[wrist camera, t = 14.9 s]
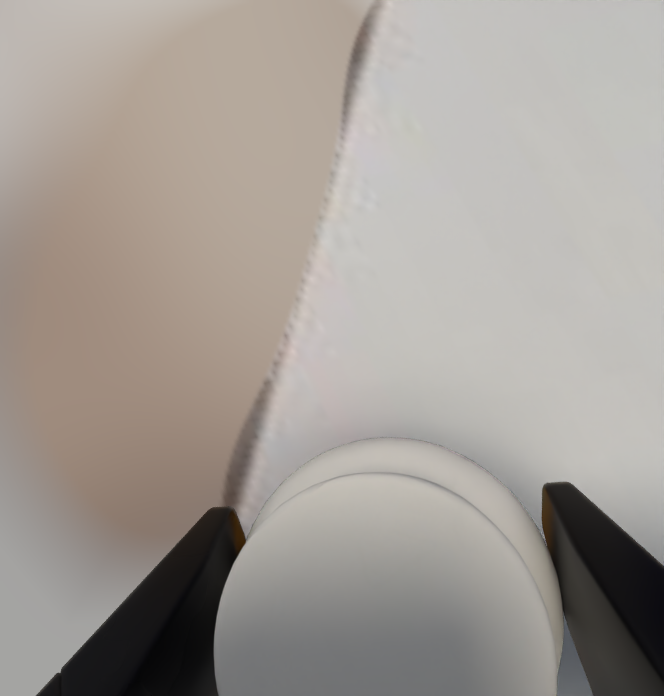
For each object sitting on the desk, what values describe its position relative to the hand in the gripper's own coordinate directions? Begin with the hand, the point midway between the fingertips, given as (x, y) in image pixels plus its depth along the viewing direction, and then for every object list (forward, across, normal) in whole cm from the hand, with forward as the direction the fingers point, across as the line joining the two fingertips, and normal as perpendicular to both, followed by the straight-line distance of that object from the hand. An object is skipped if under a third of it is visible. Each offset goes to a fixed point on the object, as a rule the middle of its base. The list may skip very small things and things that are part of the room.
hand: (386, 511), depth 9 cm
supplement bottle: (+4, 0, +6) cm, 7 cm away
